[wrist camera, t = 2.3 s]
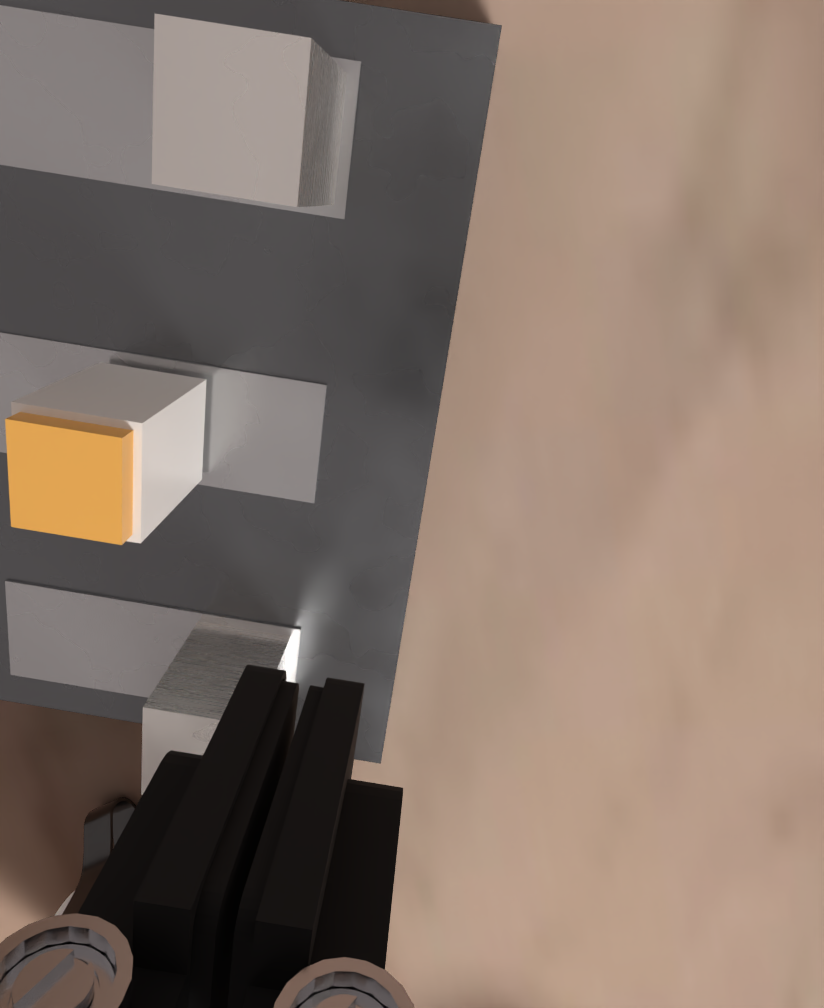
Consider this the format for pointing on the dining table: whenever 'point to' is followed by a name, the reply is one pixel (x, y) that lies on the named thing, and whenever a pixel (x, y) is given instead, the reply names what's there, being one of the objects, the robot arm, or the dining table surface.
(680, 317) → the dining table surface
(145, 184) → the panel
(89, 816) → the coffee press
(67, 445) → the toggle
